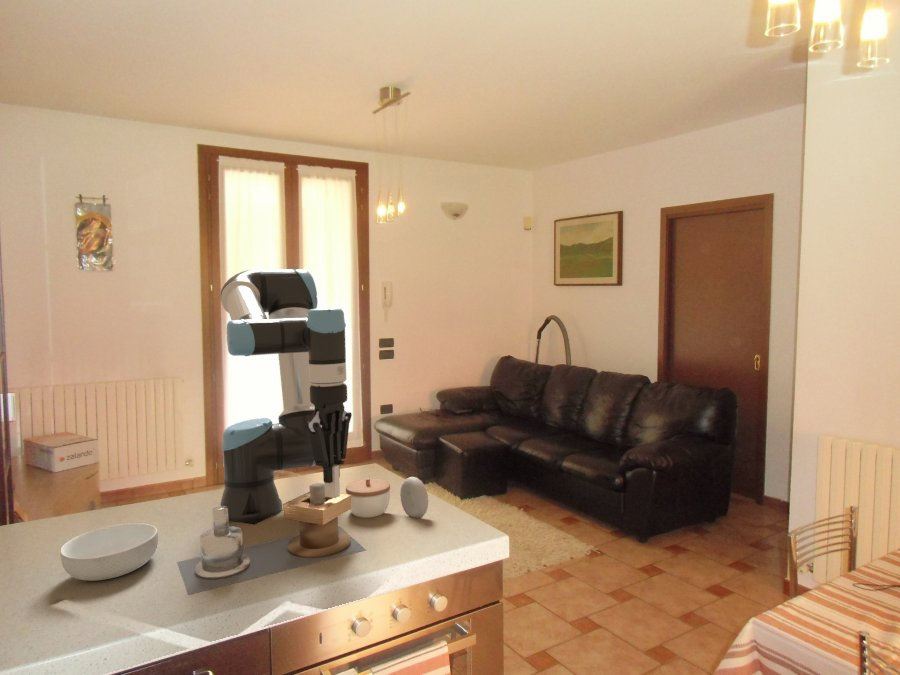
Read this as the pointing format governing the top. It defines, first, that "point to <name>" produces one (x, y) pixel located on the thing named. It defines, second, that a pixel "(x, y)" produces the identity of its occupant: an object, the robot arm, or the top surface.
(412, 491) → the grey piece
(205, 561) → the pale stepped hub
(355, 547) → the rubber mat
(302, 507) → the wooden square ring
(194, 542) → the top surface
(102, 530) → the cereal bowl
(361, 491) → the lidded jar
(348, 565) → the top surface
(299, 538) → the walnut hub
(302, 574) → the top surface
